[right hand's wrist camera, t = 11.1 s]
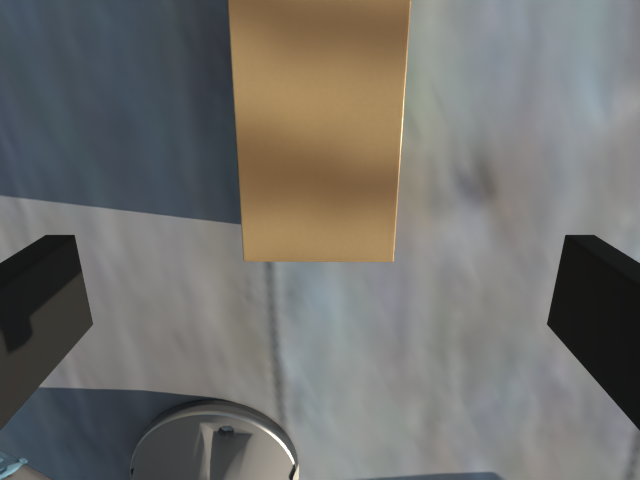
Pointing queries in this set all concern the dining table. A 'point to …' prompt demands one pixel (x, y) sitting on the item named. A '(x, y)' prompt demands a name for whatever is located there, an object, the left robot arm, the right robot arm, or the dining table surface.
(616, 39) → the dining table surface
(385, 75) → the thick board
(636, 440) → the dining table surface
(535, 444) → the dining table surface
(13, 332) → the right robot arm
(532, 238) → the dining table surface
